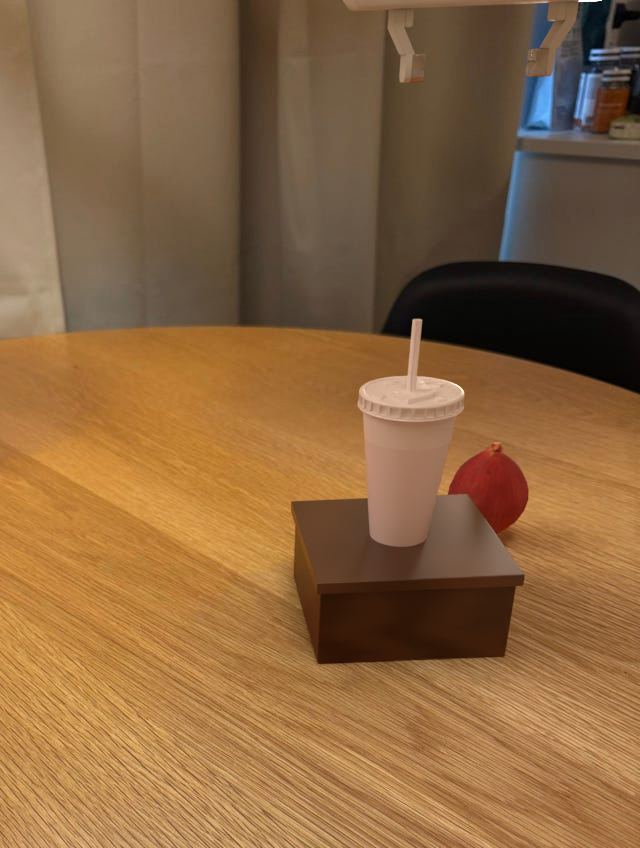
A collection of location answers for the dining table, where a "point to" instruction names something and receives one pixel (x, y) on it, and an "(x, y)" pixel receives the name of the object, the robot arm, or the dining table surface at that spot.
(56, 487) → the dining table surface
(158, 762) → the dining table surface
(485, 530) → the walnut box
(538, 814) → the dining table surface
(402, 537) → the smoothie
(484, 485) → the onion
